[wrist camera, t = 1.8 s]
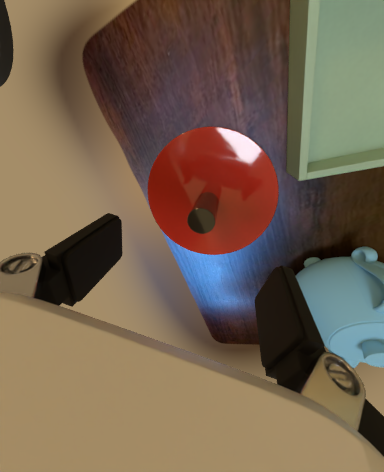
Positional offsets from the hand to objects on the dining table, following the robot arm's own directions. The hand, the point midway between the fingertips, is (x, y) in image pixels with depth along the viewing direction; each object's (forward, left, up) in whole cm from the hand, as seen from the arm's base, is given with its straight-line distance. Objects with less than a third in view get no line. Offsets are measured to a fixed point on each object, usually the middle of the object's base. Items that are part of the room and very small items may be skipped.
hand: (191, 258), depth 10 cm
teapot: (+28, +2, -21) cm, 35 cm away
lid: (0, 0, -10) cm, 10 cm away
